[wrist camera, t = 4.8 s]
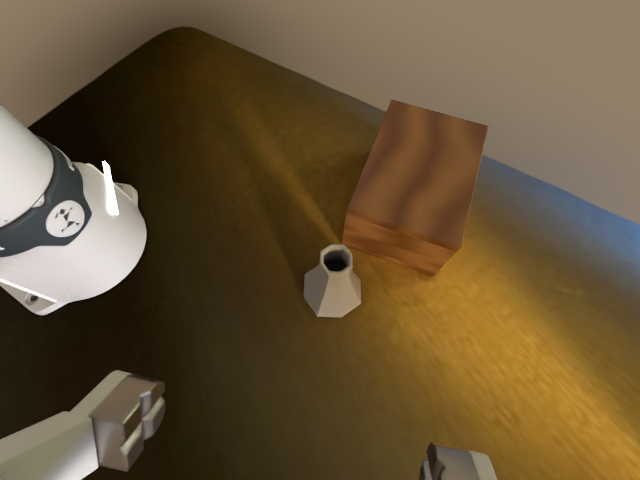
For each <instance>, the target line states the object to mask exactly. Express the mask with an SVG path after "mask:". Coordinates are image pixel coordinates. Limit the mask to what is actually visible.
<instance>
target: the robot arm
mask: <svg viewBox="0 0 640 480" xmlns="http://www.w3.org/2000/svg"><path fill="white" fill-rule="evenodd" d="M102 163H103V169H104V174H105V175H104V174H103V173H102V172H100V171H99V170H98V169H97V168H96V167H94V166H93V165H91V164H89V163H86V164H83V163H79V162H71V161H70V159H69V158H68V157H67V156H66V155H65V154H64V153H63V152H62V151H61V150H59V149H58V148H57V147H55V146H54V145H52V144H51V143H49V142H48V141H47V140H45V139H43V138H41V137H39V136H36V135H34V134H33V133H32V132H31V131H30V130H28V129H27V128H26V127H25V126H24V125H23V124H22V123H21V122H20V121H18V120H17V119H16V118H15V117H14V116H13V115H12V114H11V113H9V112H8V111H7V110H6V109H5V108H4V107H3V106H1V104H0V286H1V287H2V288H3V289H5V290H6V291H7V292H8V293H9V294H11V295H12V296H13V297H14V298H15V299H17V300H18V301H19V302H20V303H21V304H23V305H24V306H25V307H26V308H27V309H29V310H30V311H31V312H33V313H35V314H38V315H46V314H48V313H51V312H53V311H55V310H56V309H58V308H60V307H62V306H63V305H65V304H67V303H70V302H73V301H78V300H83V299H87V298H91V297H94V296H97V295H99V294H101V293H104V292H105V291H107V290H109V289H111V288H112V287H114V286H115V285H117V284H118V283H119V282H121V281H122V280H123V279H124V278H125V277H126V276H127V275H128V274H129V273H130V272H131V271H132V269H133V268H134V267H135V265H136V264H137V262H138V261H139V259H140V257H141V255H142V253H143V250H144V247H145V243H146V235H147V233H146V225H145V222H144V219H143V217H142V215H141V213H140V211H139V209H138V193H137V191H136V189H134V188H133V187H132V186H131V185H128V184H121V183H115V182H112V177H111V172H110V167H109V165H108V164H107V163H106V162H105V161H102ZM36 297H38V298H37V300H35V299H36ZM164 391H165V387H164V382H162V381H159V380H155V379H151V378H147V377H143V376H139V375H135V374H131V373H127V372H123V371H119V370H116V371H114V372H111V373H110V374H109V375H108V376H107V377H106V378H105V379H104V380H103V381H102V382H100V383H99V384H98V385H97V386H96V387H95V388H94V389H93V390H92V391H91V392H90V393H89V394H88V395H87V396H86V397H85V398H84V399H83V400H82V401H81V402H79V403H78V404H77V405H76V406H75V407H74V408H73V409H72V410H71V411H70V412H66V411H64V412H62V413H59V414H57V415H55V416H53V417H50V418H48V419H46V420H44V421H41V422H39V423H37V424H34V425H32V426H30V427H28V428H25V429H23V430H21V431H19V432H16V433H14V434H12V435H10V436H7V437H5V438H3V439H1V440H0V480H81V479H83V478H84V477H86V476H87V475H88V474H90V473H91V472H93V471H94V470H96V469H97V468H98V467H99V466H104V467H108V468H113V469H117V470H122V471H126V472H128V471H129V469H130V468H131V466H132V465H133V463H134V462H135V461H136V459H137V458H138V456H139V455H140V453H141V452H142V451H143V441H144V440H146V439H148V438H149V437H151V436H153V435H154V433H155V432H156V430H157V429H158V427H159V425H160V423H161V421H162V419H163V416H164V412H165V401H164V400H163V398H162V397H161V395H162V394H163V392H164ZM427 455H428V459H427V460H425V461H423V463H422V466H421V469H420V477H419V480H497V478H496V475H495V472H494V470H493V467H492V464H491V462H490V459H489V457H488V456H487V455H486V454H483V453H479V452H474V451H470V450H466V449H462V448H457V447H452V446H448V445H443V444H438V443H434V442H431V443H430V444H429V446H428V449H427ZM98 465H99V466H98Z"/></svg>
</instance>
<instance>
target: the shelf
mask: <svg viewBox="0 0 640 480" xmlns="http://www.w3.org/2000/svg"><path fill="white" fill-rule="evenodd" d="M487 131H488V126H486V125H482V124H479V123H475V122H471V121H467V120H464V119H460V118H457V117H453V116H450V115H446V114H442V113H439V112H435V111H431V110H428V109H424V108H421V107H417V106H413V105H409V104H406V103H402V102H399V101H395V100H391V103H390V105H389V107H388V110H387V112H386V115H385V117H384V119H383V122H382V124H381V127H380V129H379V132H378V134H377V137H376V139H375V141H374V144H373V146H372V149H371V151H370V154H369V156H368V158H367V161H366V163H365V166H364V168H363V171H362V173H361V175H360V178H359V180H358V183H357V185H356V188H355V190H354V192H353V195H352V197H351V200H350V202H349V205H348V207H347V210H346V218H345V224H344V231H343V237H342V245H345V246H348V247H350V248H353V249H356V250H359V251H362V252H365V253H367V254H370V255H373V256H376V257H379V258H382V259H384V260H387V261H390V262H393V263H396V264H399V265H401V266H404V267H407V268H410V269H413V270H416V271H418V272H421V273H424V274H427V275H430V276H433V275H434V274H435V273H436V272H437V271H438V270H439V269H440V268H441V267H442V266H443V265H444V264H445V263H446V262H447V261H448V260H449V259H450V258H451V257H452V256H453V255H454V254H455V253H456V252H457V251H458V250H459V249H460V248H461V247H462V242H463V238H464V233H465V229H466V224H467V220H468V216H469V211H470V207H471V202H472V198H473V193H474V189H475V184H476V180H477V176H478V171H479V167H480V162H481V158H482V153H483V149H484V144H485V140H486V135H487Z"/></svg>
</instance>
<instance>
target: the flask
mask: <svg viewBox="0 0 640 480" xmlns="http://www.w3.org/2000/svg"><path fill="white" fill-rule="evenodd" d="M304 298H305V300H306V301H307V303H308V304H309V306H310V307H311V308H312V310H313V311H314V313H315V314H316V316H317V317H343V316H344V315H346V314H347V313H349V312H350V311H351V310H353V309H354V308H356V307H357V306H358V305H360V304H361V280H360V279H359V278H358V276H357V275H356V274H355V272H354V271H353V270H352V254H351V252H350V251H349V250H348V249H347V247H346V246H345V245H342V244H331V245H329V246H327V247H326V248H324V249H323V250H321V251H320V264H319V265H318V266H316V267H315V268H313V269H312V270H310V271H309V272H307V273H306V274H305V279H304Z"/></svg>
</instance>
